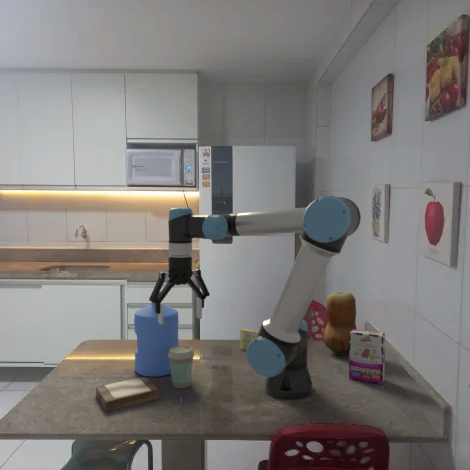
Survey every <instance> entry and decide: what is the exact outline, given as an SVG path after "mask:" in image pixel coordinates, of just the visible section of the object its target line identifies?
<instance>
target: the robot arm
mask: <svg viewBox="0 0 470 470" xmlns="http://www.w3.org/2000/svg"><path fill="white" fill-rule="evenodd" d="M361 219H362V215H361V211H360V208H359V206H358V205H357V204H356V203H355V201H353V200H351V199H349V198H347V197H343V196H334V195H326V196H325V195H324V196H321V197H318V198H316V199H314V200H312V202H310V203H309V205H308V206H307V207H295V208H284V209H273V210H260V211H248V212H247V211H246V212H239V213H238V212H237V213H223V214H222V213H221V214H220V213H219V214H194V213H193V209H192V208H190V207H172V208H169V212H168V220H167V223H168V255H169V257H168V271H167V272H166V271H165V272H164V271H159V273H158V278H157V280H156V284H155V285H154V287H153V290H152V292H151V294H150V297H149V299H148V301H149V302H151V303H152V302H153V303H155V312H156V313H157V314H158V323H159V324H163V305H164V303H163V301H164V299H165V298H166V296H168V293H169V292H170V291H171V289H172V288H174V287H175V285H176V286H180V285H188V286H189V287H190V289H191V290H192V291H193V292H194V293H195V294H196V296H197V297H196V300H195V301H196V302H195V305H196V309H195V316H196V318H197V319H199V320H202V319H203V309H204V308H205V300H206V299H207V297H210V295H211V294H210V292H209V290H208V288H207V285H206V283H205V280H204V279H203V277H202V271H201V269H198V268H195V269H193V257H192V256H193V239H203V240H211V241H214V240H215V241H216V240H223V239H224V238H228V237H240V236H241V237H242V236H258V235H259V236H260V235H279V234H294V233H295V234H297V233H298V234H300V235H299V239H300V241H301V246H300V247H299V248H300V249H299V251H298V252H297V255H296V257H295V260H294V262H293V264H292V267H291V269H290V271H289V274H288V276H287V279H286V281H285V283H284V286H283V288H282V291H281V293H280V295H279V297H278V300H277V302H276V304H275V307H274V309H273V310H272V311H273V312H272V313H271V316H270V317H269V318H266V319H264V320H263V321H262V323H261V324H260V327H259V330H258V335H257V337H256V338H254V339H253V340H252V341H251V342H250V343H249V345H248V347H247V350H245V351H246V359H247V361H248V365H249V366H250V368H251V369H252V370H253V372H255V373H256V374H257V375H259V376H260V377H263V378H264V377H265V381H264V389H265V390H264V391H265V392H266V393H267V394H269V395H270V396H272V397H274V398H277V399H280V400H281V399H282V400H287V401H288V400H289V401H290V400H302V399H305V398H308V397H310V396H311V395H312V394H313V381H312V378H311V375H310V371H309V368H308V346H309V344H308V342H309V341H308V340H309V339H308V338H309V335H308V334H309V330H308V329H309V328H308V323H307V321H306V320H304V318H305V316H306V314H307V312H308V310H309V308H310V305H311V303H312V301H313V299H314V297H315V295H316V292H317V290H318V289H319V286H320V284H321V282H322V279H323V277H324V275H325V272H326V270H327V268H328V266H329V264H330V262H331V259H332V258H333V257H334V256H337V255H339V254H341V252H342V249H343V247H344V245H345V243H346V240H347V238H348V237H350V236H352V235H353V234H354V233H355V232H356V231H357V230H358V229H359V226H360V224H361ZM191 255H192V256H191ZM193 276H194V277H195V279H196V282H197V283H198V286H199V287H198V286H197V285H196V283H195V282H194V280H192V279H191V278H192V277H193ZM167 277H168V280H167V282H166V285H165V286H164V283H165V281H166V279H167ZM163 286H164V287H163ZM162 287H163V288H162ZM199 288H200V289H199ZM159 292H160V294H159ZM158 294H159V295H158Z"/></svg>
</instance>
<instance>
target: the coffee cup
mask: <svg viewBox="0 0 470 470" xmlns="http://www.w3.org/2000/svg"><path fill="white" fill-rule="evenodd" d="M168 357H169V361H170V369H171V374H170V377H171V384H172V385H171V386H172V387H173V388H174V389H187V388H188V387H190V386H191V380H192V373H193V363H194V362H193V361H194V357H195V352H194V349H193V347H192V346H189V345H178V346H175V347H172V348H170V350H169V353H168Z"/></svg>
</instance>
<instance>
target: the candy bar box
mask: <svg viewBox="0 0 470 470" xmlns="http://www.w3.org/2000/svg"><path fill="white" fill-rule="evenodd" d="M349 340H350V342H349V354H348V357H349V359H348V363H349V364H348V367H349V368H348V379H349V380H354V381H361V382H365V383H370V384H371V383H372V384H377V385H383V383H384V381H385V367H386V365H385V361H386V360H385V359H386V357H385V355H386V350H385V349H386V333H385V332H382V331H375V330H373V331H372V330H366V329H365V330H364V329H352V330H351V331H350V337H349Z"/></svg>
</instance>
